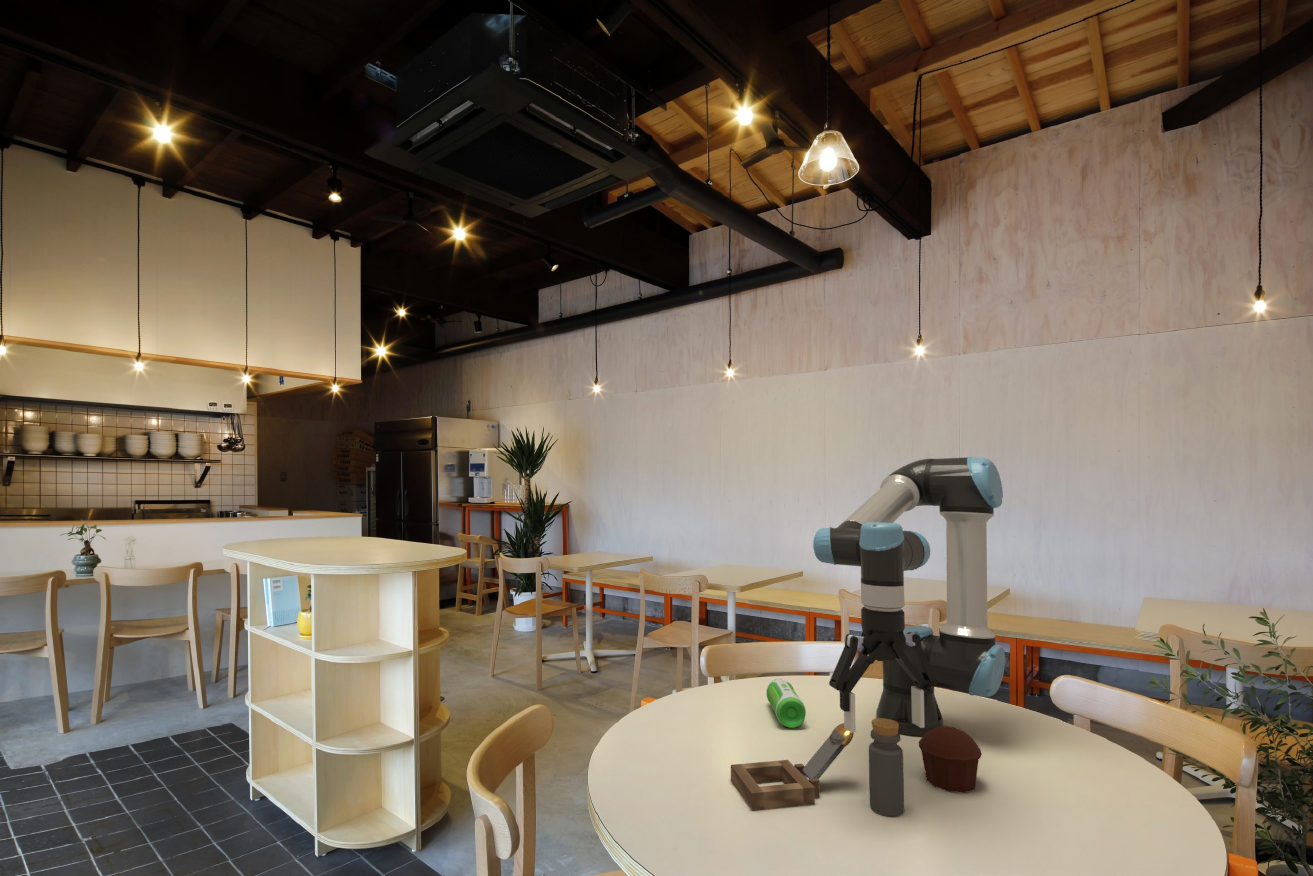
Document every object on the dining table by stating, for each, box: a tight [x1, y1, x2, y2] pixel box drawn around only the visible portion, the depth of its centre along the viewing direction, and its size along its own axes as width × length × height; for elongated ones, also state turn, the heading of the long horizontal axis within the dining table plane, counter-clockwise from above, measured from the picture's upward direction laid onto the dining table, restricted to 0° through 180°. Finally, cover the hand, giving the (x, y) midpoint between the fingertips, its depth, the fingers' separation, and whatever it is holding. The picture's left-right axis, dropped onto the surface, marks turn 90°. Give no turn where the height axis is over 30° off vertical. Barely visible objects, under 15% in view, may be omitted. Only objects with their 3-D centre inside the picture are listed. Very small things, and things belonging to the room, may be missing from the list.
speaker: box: [766, 678, 807, 729], centre depth 161 cm, size 18×7×8 cm, turn 179°
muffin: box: [918, 725, 983, 794], centre depth 126 cm, size 12×11×10 cm
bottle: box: [868, 718, 905, 818], centre depth 116 cm, size 6×6×15 cm
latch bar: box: [800, 722, 855, 781], centre depth 124 cm, size 14×5×1 cm
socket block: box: [730, 759, 820, 812], centre depth 122 cm, size 14×12×3 cm
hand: (884, 727), depth 116 cm, fingers open, 13 cm apart
